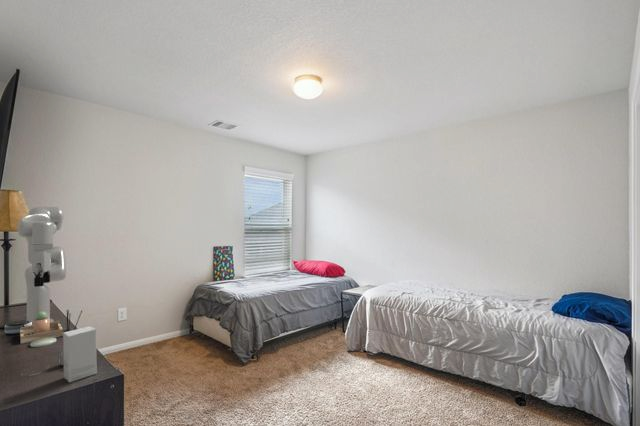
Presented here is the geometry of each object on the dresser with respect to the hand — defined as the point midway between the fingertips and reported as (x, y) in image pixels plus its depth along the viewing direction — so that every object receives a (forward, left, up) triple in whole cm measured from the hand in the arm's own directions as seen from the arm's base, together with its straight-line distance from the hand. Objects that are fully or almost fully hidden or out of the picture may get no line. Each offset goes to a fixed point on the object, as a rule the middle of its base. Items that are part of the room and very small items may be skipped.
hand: (42, 284), depth 156 cm
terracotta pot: (-5, 0, -25) cm, 26 cm away
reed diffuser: (+48, +6, -25) cm, 54 cm away
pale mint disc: (+10, 0, -25) cm, 27 cm away
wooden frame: (-5, 0, -25) cm, 26 cm away
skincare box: (+63, +7, -25) cm, 68 cm away
